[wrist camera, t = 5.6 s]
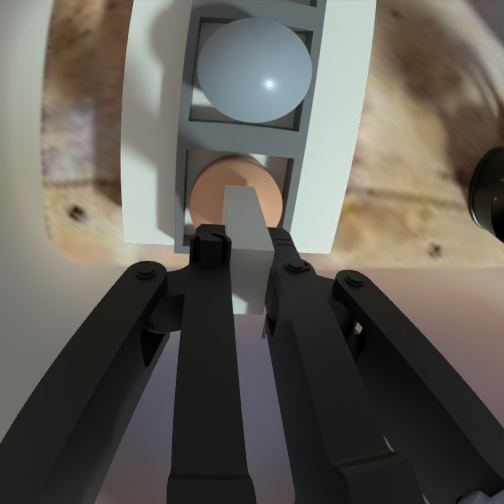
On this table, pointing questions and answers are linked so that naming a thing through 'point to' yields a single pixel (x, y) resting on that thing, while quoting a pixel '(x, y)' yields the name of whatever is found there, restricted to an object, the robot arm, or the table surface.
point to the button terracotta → (233, 173)
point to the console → (234, 131)
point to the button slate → (254, 70)
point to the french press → (488, 192)
